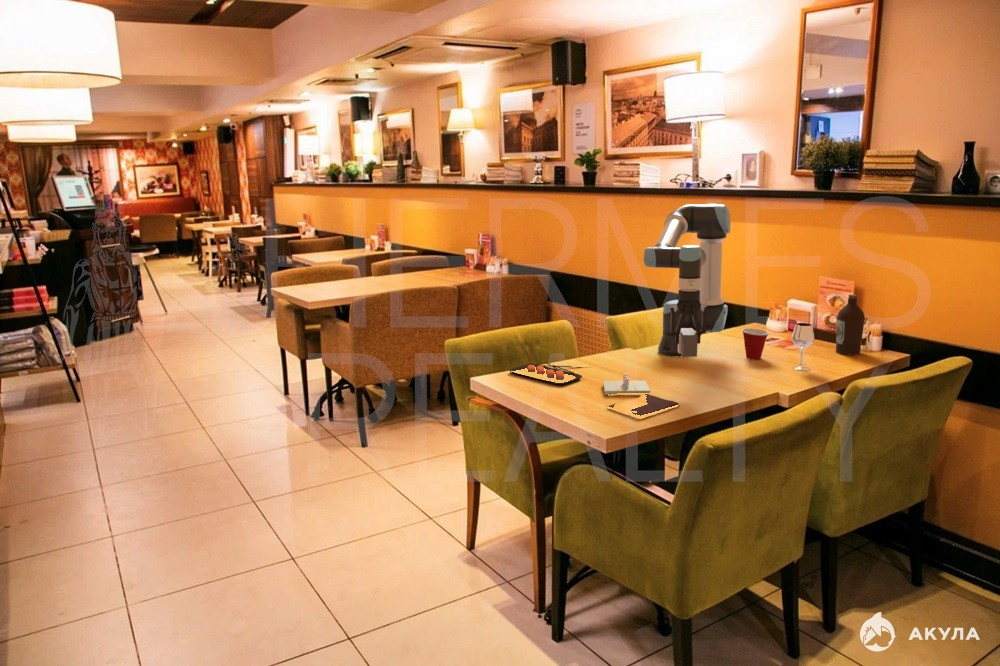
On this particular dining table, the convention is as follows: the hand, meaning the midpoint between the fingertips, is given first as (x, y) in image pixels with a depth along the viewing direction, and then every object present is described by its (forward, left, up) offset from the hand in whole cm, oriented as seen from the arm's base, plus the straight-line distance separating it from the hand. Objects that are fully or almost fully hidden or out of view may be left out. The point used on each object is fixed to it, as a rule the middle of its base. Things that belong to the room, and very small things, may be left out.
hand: (687, 352), depth 260 cm
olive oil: (-50, +77, -15) cm, 93 cm away
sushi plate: (-25, -47, -15) cm, 55 cm away
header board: (0, -22, -15) cm, 26 cm away
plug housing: (0, 0, 0) cm, 0 cm away
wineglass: (-27, +50, -15) cm, 59 cm away
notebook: (+19, -18, -15) cm, 30 cm away
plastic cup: (-43, +36, -15) cm, 58 cm away
